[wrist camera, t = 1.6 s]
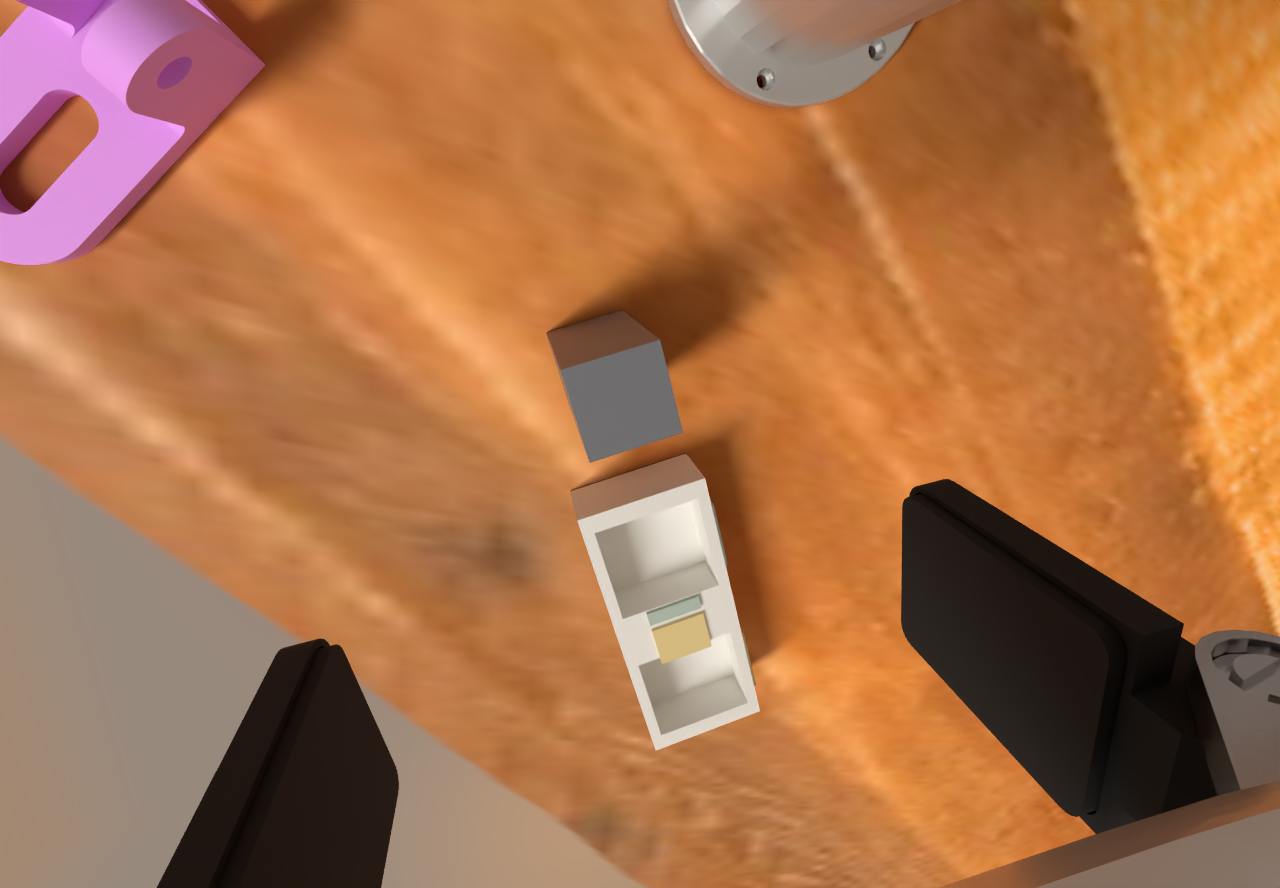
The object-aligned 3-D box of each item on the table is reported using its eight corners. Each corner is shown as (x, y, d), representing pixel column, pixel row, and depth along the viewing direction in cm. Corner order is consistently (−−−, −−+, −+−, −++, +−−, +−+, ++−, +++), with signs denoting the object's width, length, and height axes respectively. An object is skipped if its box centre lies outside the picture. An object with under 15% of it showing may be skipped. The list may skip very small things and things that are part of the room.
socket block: (689, 452, 34) (709, 478, 31) (742, 670, 41) (764, 712, 37) (569, 491, 34) (577, 522, 30) (643, 707, 40) (656, 753, 37)
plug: (622, 309, 31) (660, 339, 24) (641, 383, 32) (682, 432, 25) (546, 332, 30) (560, 370, 23) (569, 405, 32) (590, 462, 25)
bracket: (132, -71, 22) (-14, -183, 16) (267, 66, 25) (186, 14, 18) (-92, 181, 24) (-310, 170, 17) (57, 290, 26) (-89, 316, 19)
